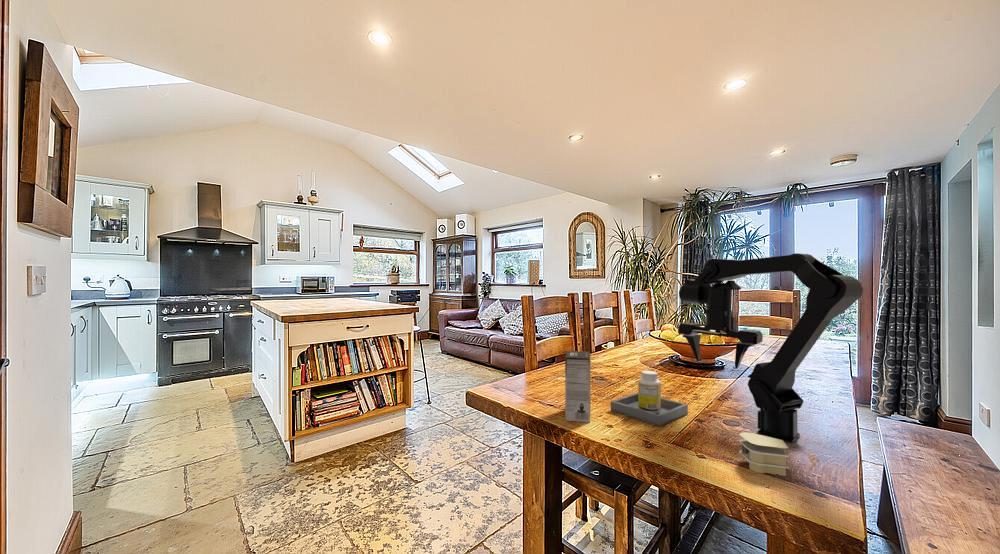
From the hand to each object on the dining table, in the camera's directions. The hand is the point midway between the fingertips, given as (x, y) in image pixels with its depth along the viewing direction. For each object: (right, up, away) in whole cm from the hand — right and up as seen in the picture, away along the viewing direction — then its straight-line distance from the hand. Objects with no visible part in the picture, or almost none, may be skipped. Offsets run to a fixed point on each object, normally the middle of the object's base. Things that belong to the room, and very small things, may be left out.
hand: (716, 364), depth 98 cm
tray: (-18, -13, +1) cm, 22 cm away
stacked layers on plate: (-8, -13, -28) cm, 32 cm away
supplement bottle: (-18, -13, +1) cm, 22 cm away
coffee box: (-37, -13, -2) cm, 40 cm away
